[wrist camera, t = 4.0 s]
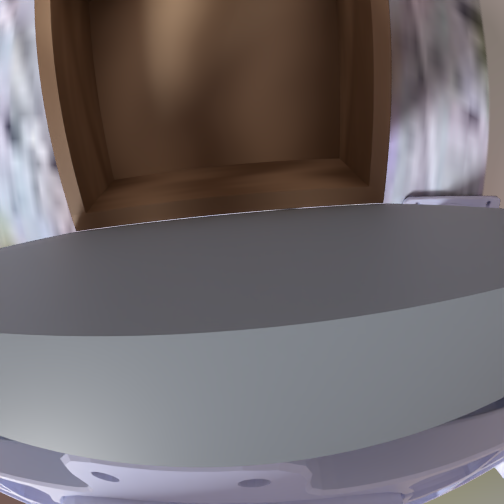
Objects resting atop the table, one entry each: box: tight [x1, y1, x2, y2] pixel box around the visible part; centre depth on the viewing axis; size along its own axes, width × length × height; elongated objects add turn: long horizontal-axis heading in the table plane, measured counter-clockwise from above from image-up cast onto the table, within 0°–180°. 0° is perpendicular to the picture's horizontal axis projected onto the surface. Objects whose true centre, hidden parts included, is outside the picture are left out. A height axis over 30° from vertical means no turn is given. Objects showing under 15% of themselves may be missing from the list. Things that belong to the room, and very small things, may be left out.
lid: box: [0, 204, 504, 467], centre depth 7 cm, size 14×12×1 cm
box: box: [35, 0, 391, 231], centre depth 12 cm, size 14×12×5 cm
